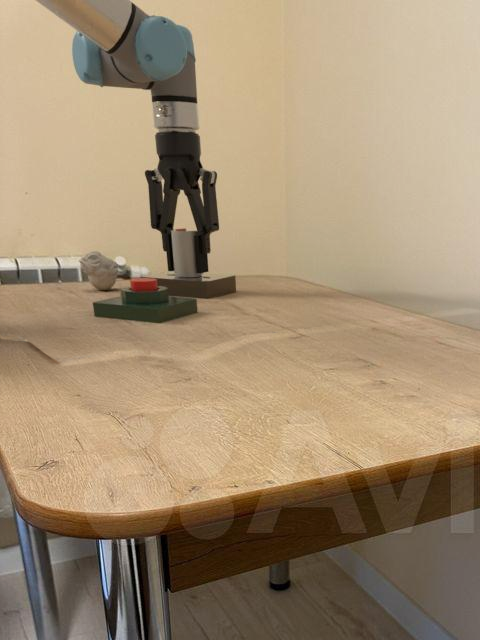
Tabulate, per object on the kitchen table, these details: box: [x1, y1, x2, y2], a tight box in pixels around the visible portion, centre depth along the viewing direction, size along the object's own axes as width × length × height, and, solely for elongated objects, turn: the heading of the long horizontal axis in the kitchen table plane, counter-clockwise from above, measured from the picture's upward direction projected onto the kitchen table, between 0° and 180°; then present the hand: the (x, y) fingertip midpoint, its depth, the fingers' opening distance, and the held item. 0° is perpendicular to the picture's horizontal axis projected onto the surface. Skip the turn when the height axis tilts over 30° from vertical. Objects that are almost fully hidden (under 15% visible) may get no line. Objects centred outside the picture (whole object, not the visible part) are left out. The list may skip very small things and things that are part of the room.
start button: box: [129, 277, 158, 291], centre depth 109 cm, size 4×4×2 cm
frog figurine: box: [78, 250, 119, 291], centre depth 131 cm, size 6×7×7 cm
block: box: [92, 285, 199, 324], centre depth 110 cm, size 12×10×4 cm
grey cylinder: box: [171, 227, 202, 278], centre depth 129 cm, size 5×5×8 cm
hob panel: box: [139, 271, 237, 300], centre depth 131 cm, size 14×10×3 cm
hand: (188, 271), depth 130 cm, fingers open, 5 cm apart
